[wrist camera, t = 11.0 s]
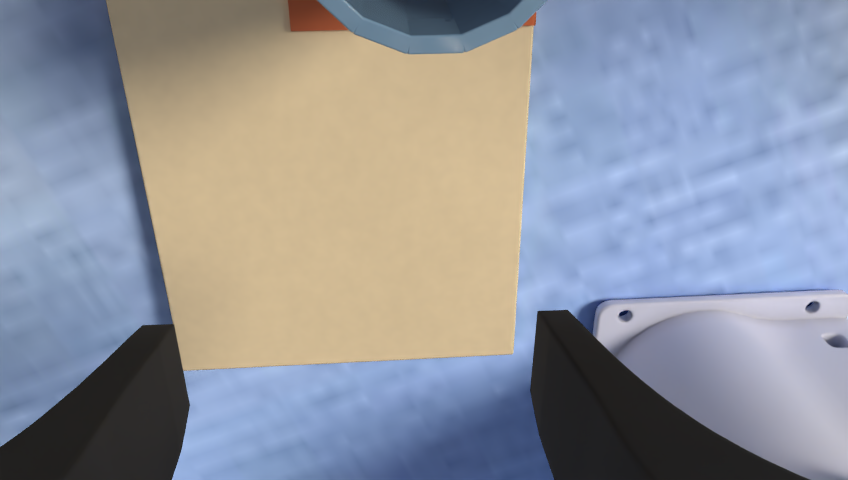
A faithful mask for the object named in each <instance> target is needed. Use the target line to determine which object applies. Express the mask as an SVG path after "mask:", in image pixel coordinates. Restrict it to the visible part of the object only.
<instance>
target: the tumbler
mask: <svg viewBox="0 0 848 480" xmlns="http://www.w3.org/2000/svg"><path fill="white" fill-rule="evenodd" d="M317 1H318V2H319V3H320V4H321V5H322V6H323V7H324V8H325V9H327V10H328V11H329V12H330V13H331V14H332V15H333V16H334V17H335V18H336V19H337V20H338V21H339V22H341V23H342V24H343V25H344V26H345V27H346V28H347V29H348V30H349V31H350V32H352V33H354V34H355V35H357V36H360V37H362V38H365V39H368V40H370V41H373V42H375V43H378V44H381V45H383V46H386V47H388V48H391V49H394V50H396V51H399V52H401V53H404V54H407V53H408V54H409V55H413V54H451V53H464V52H468V51H471V50H473V49H475V48H477V47H480V46H482V45H484V44H487V43H489V42H491V41H493V40H496V39H498V38H500V37H503V36H505V35H507V34H509V33H512V32H514V31H516V30H517V28H520V27H521V26H522V25H523V24H524V23H525V22H526V21H527V20H528V19H529V18H530V17H531V16H532V15H533V14H534V13H535V12H536V11H537V10H538V9H539V8H540V7H541V6H542V5H543V4H544V3H545V2H546V1H547V0H317Z"/></svg>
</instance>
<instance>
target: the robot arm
mask: <svg viewBox="0 0 848 480" xmlns="http://www.w3.org/2000/svg"><path fill="white" fill-rule="evenodd" d="M810 302H813V304H812V305H810V306H809V307H806V306H807V305H808V304H809V303H810ZM625 310H628V313H627V314H626V315H623V316H618V315H619V313H621V312H622V311H625ZM847 317H848V294H846V293H845V292H844V291H842V290H817V291H795V292H773V293H752V294H730V295H708V296H687V297H665V298H643V299H622V300H608V301H604V302H603V303H601V304H600V305H599V306H598V307H597V309H596V312H595V319H594V327H593V335H592V334H591V333H590V332H589V331H588V330H587V329H586V328H585V327H584V326H583V325H582V324H581V323H580V322H579V321H578V320H577V319H576V318H575V317H574V316H573V315H572V314H571V313H570V312H569V311H568V310H555V311H538V313H537V324H536V335H535V345H534V356H533V367H532V378H531V389H530V391H531V397H532V402H533V407H534V413H535V417H536V422H537V427H538V432H539V436H540V439H541V442H542V445H543V448H544V451H545V454H546V457H547V460H548V463H549V466H550V469H551V472H552V474H553V477H554V480H848V319H847ZM189 406H190V404H189V399H188V394H187V389H186V383H185V378H184V373H183V368H182V363H181V357H180V352H179V347H178V342H177V336H176V331H175V326H174V324H167V325H142V326H141V327H140V328H139V329H138V330H137V331H136V332H135V333H134V334H133V335H131V336H130V337H129V338H128V339H127V340H126V341H125V342H124V343H123V344H122V345H121V346H120V347H119V348H118V349H117V350H116V351H115V352H114V353H113V354H112V355H111V356H110V357H109V358H108V359H106V360H105V361H104V362H103V363H102V364H101V365H100V366H99V367H98V368H97V369H96V370H95V371H94V372H93V373H91V374H90V375H89V376H88V377H87V378H86V379H85V380H84V381H83V382H82V383H81V384H80V385H78V386H77V387H76V388H75V389H74V390H73V391H71V392H70V393H69V394H68V395H67V396H65V397H64V398H63V399H62V400H61V401H60V402H58V403H57V404H56V405H55V406H54V407H52V408H51V409H50V410H49V411H48V412H46V413H45V414H44V415H43V416H42V417H40V418H39V419H38V420H37V421H35V422H34V423H33V424H32V425H30V426H29V427H28V428H26V429H25V430H24V431H22V432H21V433H20V434H18V435H17V436H15V437H14V438H13V439H11V440H10V441H8V442H7V443H5V444H4V445H3V446H1V447H0V480H172V477H173V474H174V471H175V468H176V465H177V462H178V459H179V456H180V453H181V449H182V444H183V439H184V434H185V429H186V423H187V417H188V412H189Z"/></svg>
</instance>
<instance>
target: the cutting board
mask: <svg viewBox="0 0 848 480" xmlns="http://www.w3.org/2000/svg"><path fill="white" fill-rule="evenodd" d="M106 3H107V8H108V13H109V18H110V22H111V27H112V32H113V37H114V42H115V46H116V51H117V56H118V61H119V66H120V71H121V75H122V80H123V85H124V90H125V95H126V99H127V104H128V109H129V114H130V119H131V124H132V128H133V133H134V138H135V143H136V148H137V152H138V157H139V162H140V167H141V172H142V177H143V181H144V186H145V191H146V196H147V201H148V205H149V210H150V215H151V220H152V225H153V230H154V234H155V239H156V244H157V249H158V254H159V258H160V263H161V268H162V273H163V278H164V283H165V287H166V292H167V297H168V302H169V307H170V311H171V316H172V321H173V324H174V326H175V331H176V336H177V342H178V347H179V352H180V357H181V363H182V368H183V370H184V371H187V370H207V369H227V368H247V367H267V366H287V365H307V364H327V363H347V362H367V361H387V360H407V359H427V358H447V357H467V356H487V355H507V354H513V349H514V333H515V317H516V301H517V284H518V268H519V252H520V236H521V220H522V204H523V188H524V172H525V156H526V140H527V124H528V108H529V91H530V75H531V59H532V43H533V27H534V26H535V24H536V12H535V13H534V14H533V15H532V16H531V17H530V18H529V19H528V20H527V21H526V22H525V23H524V24H523V25H522V26H521V27H520V28H517V30H516V31H514V32H512V33H509V34H507V35H505V36H503V37H500V38H498V39H496V40H493V41H491V42H489V43H487V44H484V45H482V46H480V47H477V48H475V49H473V50H471V51H468V52H464V53H451V54H413V55H409V54H408V53H407V54H404V53H401V52H399V51H396V50H394V49H391V48H388V47H386V46H383V45H381V44H378V43H375V42H373V41H370V40H368V39H365V38H362V37H360V36H357V35H355V34H354V33H352V32H350V31H349V30H348V29H347V28H346V27H345V26H344V25H343V24H342V23H341V22H339V21H338V20H337V19H336V18H335V17H334V16H333V15H332V14H331V13H330V12H329V11H328V10H327V9H325V8H324V7H323V6H322V5H321V4H320V3H319V2H318V1H317V0H106Z"/></svg>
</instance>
